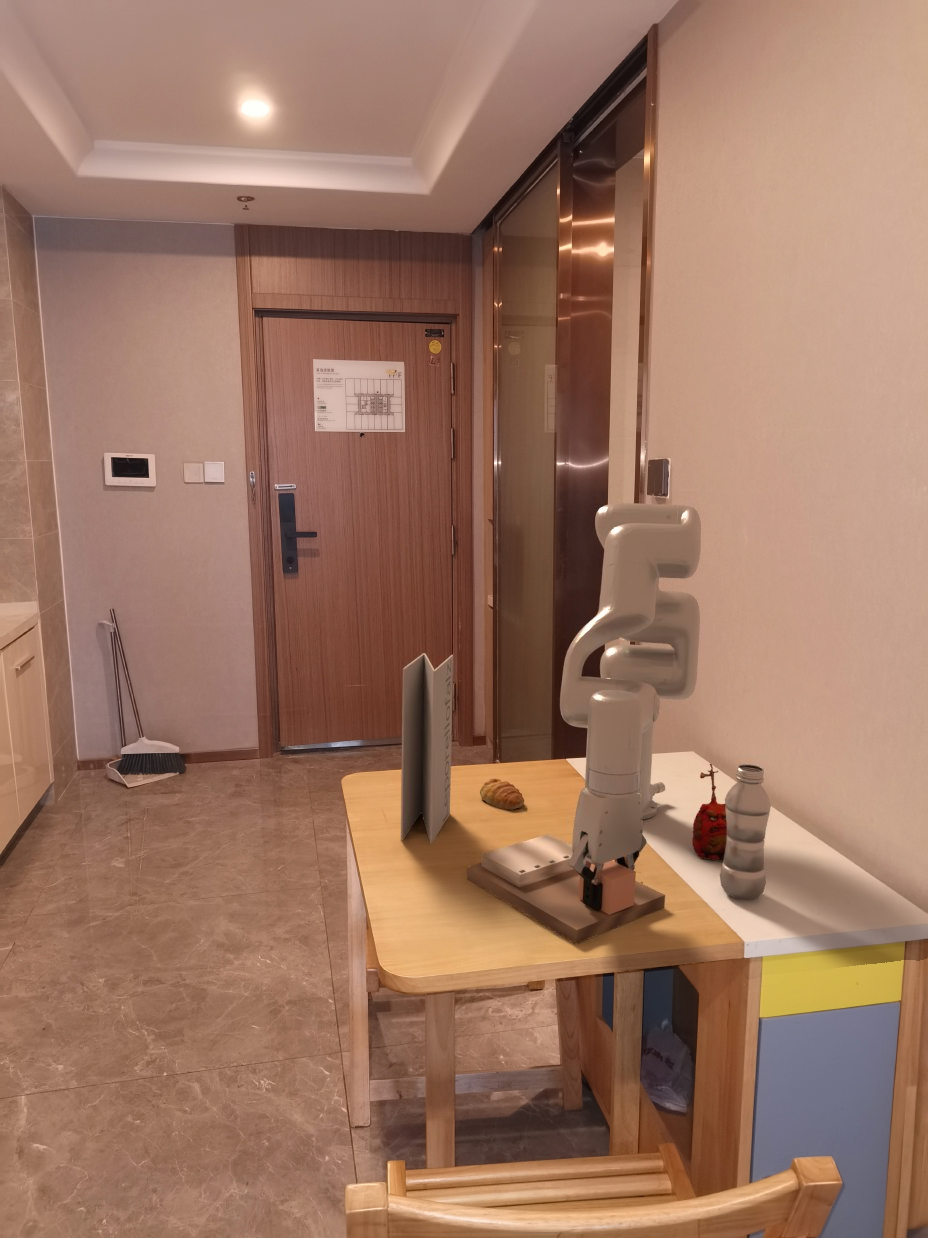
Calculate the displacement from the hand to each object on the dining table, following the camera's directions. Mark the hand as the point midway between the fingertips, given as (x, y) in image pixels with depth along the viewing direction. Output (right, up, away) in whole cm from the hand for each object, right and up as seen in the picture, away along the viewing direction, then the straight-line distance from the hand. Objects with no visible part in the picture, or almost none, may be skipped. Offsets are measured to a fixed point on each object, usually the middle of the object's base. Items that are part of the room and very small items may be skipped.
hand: (606, 900), depth 128 cm
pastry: (-13, +5, +46) cm, 48 cm away
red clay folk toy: (+22, 0, +23) cm, 31 cm away
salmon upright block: (0, 0, 0) cm, 0 cm away
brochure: (-27, +3, +32) cm, 42 cm away
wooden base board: (-5, -1, +7) cm, 9 cm away
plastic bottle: (+22, -2, +8) cm, 23 cm away
